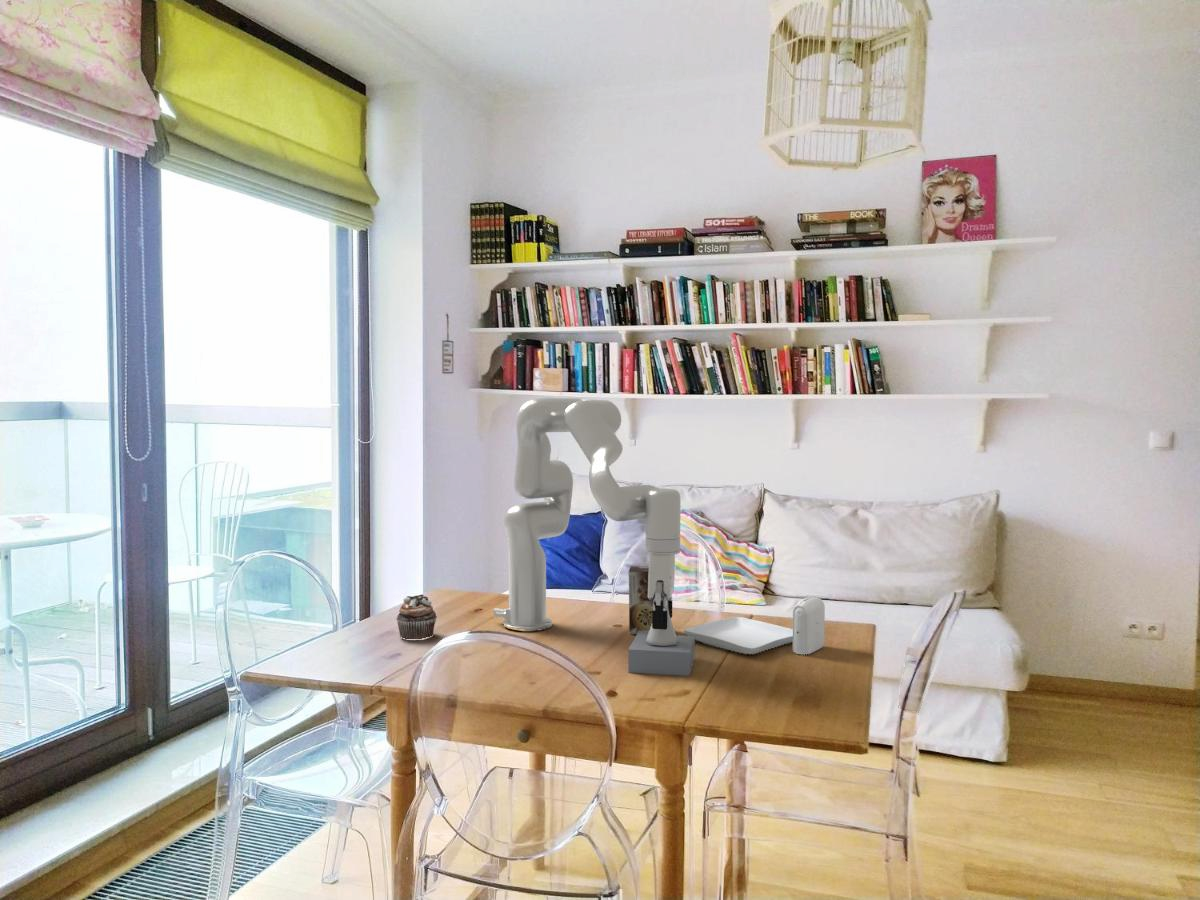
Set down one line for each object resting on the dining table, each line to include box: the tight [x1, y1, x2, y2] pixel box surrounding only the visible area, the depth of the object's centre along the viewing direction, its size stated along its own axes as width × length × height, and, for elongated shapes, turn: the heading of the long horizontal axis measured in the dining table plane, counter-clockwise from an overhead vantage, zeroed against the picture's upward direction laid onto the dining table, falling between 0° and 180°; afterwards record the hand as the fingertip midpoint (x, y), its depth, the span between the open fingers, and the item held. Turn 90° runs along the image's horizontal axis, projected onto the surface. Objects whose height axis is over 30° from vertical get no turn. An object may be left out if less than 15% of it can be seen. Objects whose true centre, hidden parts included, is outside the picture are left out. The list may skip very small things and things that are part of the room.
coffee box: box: [628, 565, 654, 635], centre depth 222 cm, size 9×6×16 cm
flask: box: [646, 600, 678, 646], centre depth 194 cm, size 7×7×10 cm
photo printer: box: [792, 596, 826, 656], centre depth 206 cm, size 10×4×12 cm, turn 141°
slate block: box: [627, 634, 696, 677], centre depth 194 cm, size 13×13×5 cm
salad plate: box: [682, 616, 793, 656], centre depth 213 cm, size 21×21×3 cm
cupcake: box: [396, 594, 437, 639], centre depth 217 cm, size 10×10×10 cm
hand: (662, 623), depth 194 cm, fingers open, 9 cm apart
